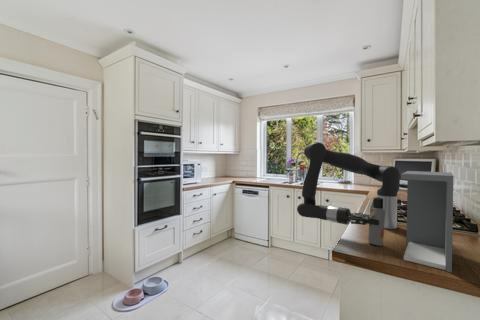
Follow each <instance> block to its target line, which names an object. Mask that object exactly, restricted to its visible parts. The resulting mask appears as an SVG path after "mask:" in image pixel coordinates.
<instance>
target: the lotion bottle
mask: <svg viewBox="0 0 480 320" xmlns="http://www.w3.org/2000/svg"><path fill="white" fill-rule="evenodd" d="M372 200H373V201H372V207H370V208H369V215H370V219H376V220H379V225H373V224H368V237H367V238H368V240H367V242H368V243H369V244H371V245H374V246H375V245H376V246H383V245H384V239H385V228H384V225H385V210H384V209H383V199H382V198H378V197H377V196H376V197H373V198H372Z"/></svg>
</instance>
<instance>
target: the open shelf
mask: <svg viewBox="0 0 480 320" xmlns="http://www.w3.org/2000/svg"><path fill="white" fill-rule="evenodd" d="M454 179H455V178H454V174H453V173H452V172H447V171H442V172H441V171H419V170H415V171H414V170H407V171H405V172H402V173H400V180H407V186H406V187H407V188H406V189H407V190H406V192H407V193H406V195H407V196H406V245H408V243H409V242H414V243H419V244H424V245H428V246H433V247H438V248H443V249H445V263H446V270H445V272H447V273H453V272H452V271H453V270H452V269H453V227H454V225H453V224H454V222H453V221H454V220H453V218H454V214H453V213H454Z"/></svg>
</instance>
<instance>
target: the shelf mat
mask: <svg viewBox="0 0 480 320" xmlns="http://www.w3.org/2000/svg"><path fill="white" fill-rule="evenodd" d="M405 249H406V250H405V251H404V253H403V261H406V262H407V261H408V262H412V263H416V264H419V265H422V266H427V267H432V268H435V269H439V270H443V271H446V263H445V249H443V248H438V247H433V246H428V245H424V244H419V243H414V242H409V243H408V244H407V246H406V248H405Z"/></svg>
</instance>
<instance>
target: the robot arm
mask: <svg viewBox="0 0 480 320" xmlns="http://www.w3.org/2000/svg"><path fill="white" fill-rule="evenodd" d="M303 153H304V156H305V157H306V158H307V159H308V160H309V166H308V169H307V172H306V175H305V177H304V181H303V184H302V190H301V191H302V192H301V197H302V198H303V202H301V203H300V204H299V205H297V206H296V207H297V208H296V209H297V210H296V211H297V214H298V215H299V216H301V217H303V218H304V217H305V218H310V219H319V220H323V221H328V222H331V223H336V224H341V225H347V226H348V225H349V224H351V225H364V226H365V225H369V224H373V225H379V220H376V219H370V214H366V213H362V212H353V213H351V209H350V208H346V207H339V206H329V205H322V204H321V205H320V204H319V205H317V204H316V194H317V188H318V182H319V177H320V173H321V169H322V166H323V163H325V164H328V165H330V166H333V167H335V168H338V169H341V170H344V171H346V172H349V173H353V174H357V175H362V176H367V177H369V178H371V179H374V180H375V181H377V182H380V183H382V184H381V187H380V188H378V189H377V191H376V197H378V198H382V199H383V209H384V210H385V225H384V229H387V230H394V229H397V228H398V224H397V223H398V192H399V190H400V181H401V173H400V170H399V169H398V168H397V167H395V166H392V165H391V166H390V165H379V164H375V163H371V162H369V161H367V160H365V159H364V158H362V157H361V156H360V157H359V156H357V155H355V154H351V153H347V152H341V151H333V150H330V149H327V148H326V145H325V144H323V143H322V142H313V143H312V142H311V143H310V144H308V145H306V146H305V148H304V150H303Z"/></svg>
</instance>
